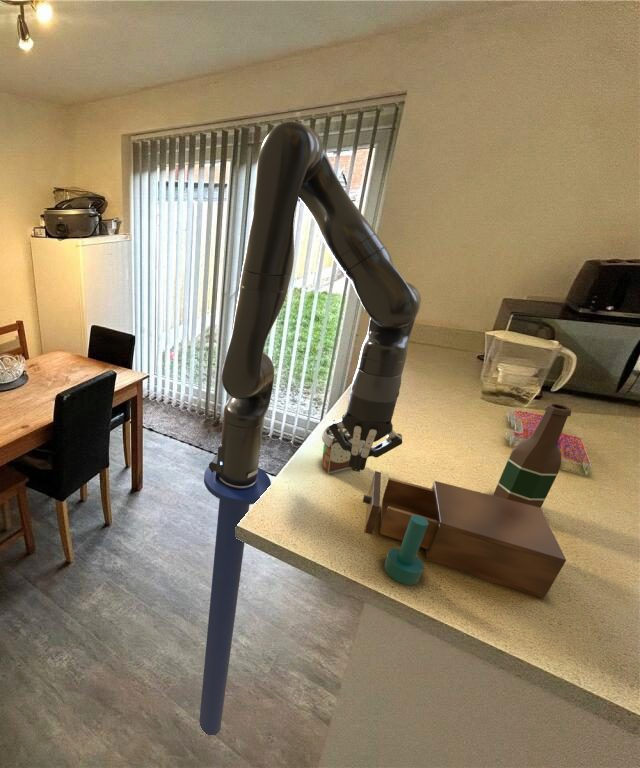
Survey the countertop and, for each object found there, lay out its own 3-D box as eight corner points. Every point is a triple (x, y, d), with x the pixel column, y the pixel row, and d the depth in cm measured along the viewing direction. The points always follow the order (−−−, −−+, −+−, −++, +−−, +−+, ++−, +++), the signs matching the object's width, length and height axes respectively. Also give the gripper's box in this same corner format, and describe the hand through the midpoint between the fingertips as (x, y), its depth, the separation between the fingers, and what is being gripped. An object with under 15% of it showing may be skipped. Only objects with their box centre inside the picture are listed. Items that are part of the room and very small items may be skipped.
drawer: (357, 530, 78) (365, 502, 75) (361, 494, 87) (368, 469, 85) (457, 563, 70) (470, 534, 67) (449, 520, 80) (460, 493, 77)
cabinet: (426, 559, 72) (440, 522, 68) (422, 514, 83) (434, 480, 79) (544, 599, 64) (566, 560, 61) (522, 543, 75) (540, 507, 71)
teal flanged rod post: (383, 576, 69) (401, 524, 64) (384, 556, 73) (400, 505, 68) (419, 590, 66) (440, 536, 61) (417, 568, 70) (437, 516, 65)
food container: (343, 452, 104) (351, 419, 101) (362, 465, 99) (371, 430, 95) (305, 461, 101) (311, 427, 97) (323, 474, 96) (330, 439, 92)
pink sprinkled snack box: (502, 414, 122) (508, 399, 120) (572, 429, 113) (580, 413, 111) (503, 456, 101) (510, 439, 99) (588, 479, 92) (599, 461, 90)
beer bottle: (547, 512, 82) (599, 411, 73) (524, 522, 80) (574, 419, 70) (504, 490, 89) (546, 395, 80) (481, 498, 87) (522, 401, 77)
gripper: (415, 391, 73) (393, 469, 79) (336, 379, 79) (322, 451, 86) (417, 407, 67) (394, 489, 74) (332, 392, 73) (317, 469, 80)
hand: (355, 469), depth 80 cm, fingers closed
